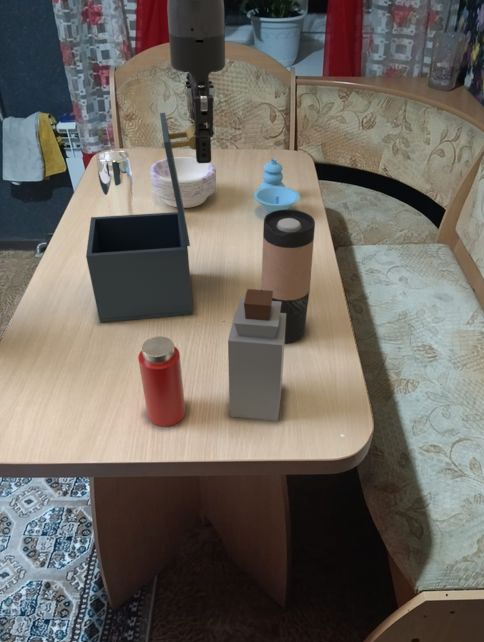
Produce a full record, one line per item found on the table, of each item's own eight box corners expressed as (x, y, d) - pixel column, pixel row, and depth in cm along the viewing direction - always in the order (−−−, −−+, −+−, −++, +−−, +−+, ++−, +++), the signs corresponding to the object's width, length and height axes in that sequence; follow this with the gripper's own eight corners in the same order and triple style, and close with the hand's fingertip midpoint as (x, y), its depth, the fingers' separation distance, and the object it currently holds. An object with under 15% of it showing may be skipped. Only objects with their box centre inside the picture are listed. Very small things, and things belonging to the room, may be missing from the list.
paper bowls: (222, 210, 126) (221, 177, 121) (156, 216, 123) (152, 182, 118) (211, 185, 137) (209, 153, 132) (150, 189, 134) (146, 157, 129)
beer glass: (107, 231, 117) (95, 162, 107) (106, 217, 122) (95, 150, 112) (140, 228, 118) (131, 160, 108) (138, 215, 123) (129, 148, 114)
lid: (163, 142, 75) (202, 136, 75) (159, 113, 85) (193, 108, 86) (185, 246, 85) (218, 241, 86) (179, 209, 96) (209, 204, 96)
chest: (100, 323, 91) (85, 256, 83) (103, 280, 102) (91, 217, 94) (192, 314, 94) (187, 248, 86) (186, 273, 104) (181, 211, 96)
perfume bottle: (236, 383, 81) (235, 280, 69) (281, 387, 80) (288, 284, 69) (229, 416, 75) (227, 310, 64) (278, 421, 75) (284, 315, 64)
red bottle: (140, 418, 75) (128, 351, 67) (162, 395, 78) (153, 329, 71) (171, 431, 73) (162, 364, 65) (192, 407, 77) (186, 341, 69)
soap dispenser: (301, 223, 122) (304, 184, 116) (255, 224, 121) (255, 185, 115) (291, 190, 136) (293, 154, 130) (249, 191, 135) (250, 154, 129)
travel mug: (296, 314, 95) (304, 206, 82) (312, 340, 89) (324, 228, 76) (254, 321, 93) (256, 212, 80) (268, 348, 87) (272, 235, 75)
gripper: (166, 20, 78) (174, 140, 89) (171, 39, 67) (180, 174, 78) (218, 20, 79) (220, 139, 90) (231, 39, 68) (232, 172, 79)
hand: (202, 155), depth 84 cm, fingers closed on lid, 5 cm apart
